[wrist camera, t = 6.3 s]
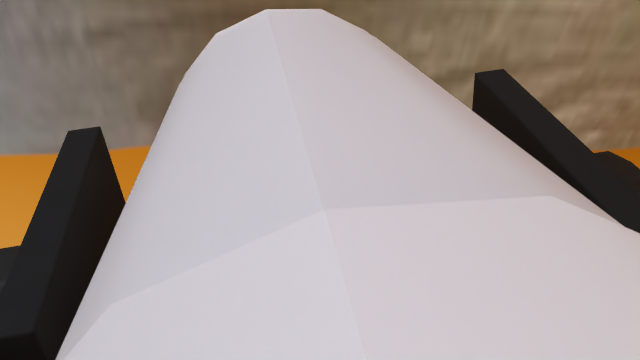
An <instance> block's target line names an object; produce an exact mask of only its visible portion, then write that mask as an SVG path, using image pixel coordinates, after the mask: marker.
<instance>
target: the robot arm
mask: <svg viewBox="0 0 640 360" xmlns="http://www.w3.org/2000/svg"><path fill="white" fill-rule="evenodd" d="M472 111H473V112H474V113H476V114H477V115H478V116H480V117H481V118H482V119H484V120H485V121H486V122H488V123H489V124H490V125H492V126H493V127H494V128H495V129H497V130H498V131H499V132H501V133H502V134H503V135H505V136H506V137H507V138H509V139H510V140H511V141H513V142H514V143H515V144H516V145H518V146H519V147H520V148H522V149H523V150H524V151H526V152H527V153H528V154H530V155H531V156H532V157H534V158H535V159H536V160H537V161H539V162H540V163H541V164H543V165H544V166H545V167H547V168H548V169H549V170H551V171H552V172H553V173H555V174H556V175H557V176H558V177H560V178H561V179H562V180H564V181H565V182H566V183H568V184H569V185H570V186H572V187H573V188H574V189H576V190H577V191H578V192H579V193H581V194H582V195H583V196H585V197H586V198H587V199H589V200H590V201H591V202H593V203H594V204H595V205H597V206H598V207H599V208H600V209H602V210H603V211H604V212H606V213H607V214H608V215H610V216H611V217H612V218H614V219H615V220H616V221H618V222H619V223H620V224H621V225H623V226H624V227H626V228H628V229H631V230H633V231H635V232H638V233H640V169H639V168H638V167H636V166H635V165H634V164H633V163H632V162H630V161H628V160H626V159H624V158H622V157H619V156H618V155H615V154H613V153H611V152H609V151H606V152H599V153H593V152H592V151H591V150H590V149H589V148H588V147H586V146H585V145H584V144H583V143H582V142H581V141H580V140H579V139H578V138H577V137H576V136H575V135H574V134H572V133H571V132H570V131H569V130H568V129H567V128H566V127H565V126H564V125H563V124H562V123H561V122H560V121H559V120H557V119H556V118H555V117H554V116H553V115H552V114H551V113H550V112H549V111H548V110H547V109H546V108H545V107H543V106H542V105H541V104H540V103H539V102H538V101H537V100H536V99H535V98H534V97H533V96H532V95H531V94H530V93H528V92H527V91H526V90H525V89H524V88H523V87H522V86H521V85H520V84H519V83H518V82H517V81H516V80H515V79H513V78H512V77H511V76H510V75H509V74H508V73H507V72H506V71H505V70H504V69H500V70H493V71H486V72H479V73H475V80H474V93H473V107H472ZM125 204H126V203H125V200H124V197H123V194H122V191H121V188H120V185H119V182H118V179H117V176H116V173H115V170H114V167H113V164H112V161H111V158H110V155H109V152H108V149H107V146H106V143H105V139H104V136H103V133H102V130H101V127H93V128H86V129H79V130H72V131H68V133H67V135H66V138H65V140H64V142H63V145H62V147H61V150H60V152H59V154H58V157H57V159H56V162H55V164H54V167H53V169H52V171H51V174H50V177H49V179H48V181H47V184H46V186H45V188H44V191H43V193H42V195H41V198H40V200H39V203H38V205H37V207H36V210H35V212H34V215H33V217H32V220H31V222H30V224H29V227H28V229H27V232H26V234H25V236H24V239H23V241H22V244H21V246H14V247H8V248H2V249H0V360H55V359H56V357H57V355H58V353H59V350H60V348H61V346H62V344H63V342H64V339H65V337H66V335H67V333H68V330H69V328H70V326H71V324H72V322H73V319H74V317H75V315H76V313H77V310H78V308H79V306H80V304H81V302H82V299H83V297H84V295H85V293H86V290H87V288H88V286H89V284H90V282H91V279H92V277H93V275H94V273H95V270H96V268H97V266H98V264H99V262H100V259H101V257H102V255H103V253H104V250H105V248H106V246H107V244H108V242H109V239H110V237H111V235H112V233H113V230H114V228H115V226H116V224H117V222H118V219H119V217H120V215H121V213H122V210H123V208H124V206H125Z"/></svg>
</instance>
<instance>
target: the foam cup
mask: <svg viewBox="0 0 640 360" xmlns="http://www.w3.org/2000/svg"><path fill="white" fill-rule="evenodd" d="M55 360H640V233H638V232H635V231H633V230H631V229H628V228H626V227H624V226H623V225H621V224H620V223H619V222H618V221H616V220H615V219H614V218H612V217H611V216H610V215H608V214H607V213H606V212H604V211H603V210H602V209H600V208H599V207H598V206H597V205H595V204H594V203H593V202H591V201H590V200H589V199H587V198H586V197H585V196H583V195H582V194H581V193H579V192H578V191H577V190H576V189H574V188H573V187H572V186H570V185H569V184H568V183H566V182H565V181H564V180H562V179H561V178H560V177H558V176H557V175H556V174H555V173H553V172H552V171H551V170H549V169H548V168H547V167H545V166H544V165H543V164H541V163H540V162H539V161H537V160H536V159H535V158H534V157H532V156H531V155H530V154H528V153H527V152H526V151H524V150H523V149H522V148H520V147H519V146H518V145H516V144H515V143H514V142H513V141H511V140H510V139H509V138H507V137H506V136H505V135H503V134H502V133H501V132H499V131H498V130H497V129H495V128H494V127H493V126H492V125H490V124H489V123H488V122H486V121H485V120H484V119H482V118H481V117H480V116H478V115H477V114H476V113H474V112H473V111H472V110H471V109H469V108H468V107H467V106H465V105H464V104H463V103H461V102H460V101H459V100H457V99H456V98H455V97H453V96H452V95H451V94H450V93H448V92H447V91H446V90H444V89H443V88H442V87H440V86H439V85H438V84H436V83H435V82H434V81H432V80H431V79H430V78H429V77H427V76H426V75H425V74H423V73H422V72H421V71H419V70H418V69H417V68H415V67H414V66H413V65H411V64H410V63H409V62H408V61H406V60H405V59H404V58H402V57H401V56H400V55H398V54H397V53H396V52H394V51H393V50H392V49H391V48H389V47H388V46H387V45H385V44H384V43H383V42H381V41H380V40H379V39H377V38H376V37H374V36H372V35H370V34H369V33H368V32H367V31H365V30H363V29H361V28H359V27H357V26H355V25H353V24H351V23H349V22H347V21H345V20H343V19H340V18H338V17H336V16H334V15H332V14H330V13H328V12H326V11H324V10H322V9H265V10H263V11H261V12H259V13H257V14H255V15H253V16H251V17H249V18H247V19H245V20H243V21H241V22H239V23H237V24H235V25H233V26H231V27H229V28H227V29H224V30H222V31H220V32H218V33H216V34H215V35H214V37H213V38H212V39H211V41H210V42H209V43H208V45H207V46H206V47H205V49H204V50H203V51H202V52H201V54H200V55H199V56H198V58H197V59H196V60H195V62H194V63H193V64H192V66H191V67H190V68H189V69H188V71H187V72H186V73H185V75H184V79H183V80H182V81H181V83H180V84H179V86H178V88H177V91H176V93H175V95H174V97H173V99H172V102H171V104H170V106H169V108H168V111H167V113H166V115H165V117H164V119H163V122H162V124H161V126H160V128H159V131H158V133H157V135H156V137H155V139H154V142H153V144H152V146H151V148H150V151H149V153H148V155H147V157H146V159H145V162H144V164H143V166H142V169H141V171H140V173H139V175H138V177H137V179H136V182H135V184H134V186H133V188H132V191H131V193H130V195H129V197H128V200H127V202H126V204H125V206H124V208H123V210H122V213H121V215H120V217H119V219H118V222H117V224H116V226H115V228H114V230H113V233H112V235H111V237H110V239H109V242H108V244H107V246H106V248H105V250H104V253H103V255H102V257H101V259H100V262H99V264H98V266H97V268H96V270H95V273H94V275H93V277H92V279H91V282H90V284H89V286H88V288H87V290H86V293H85V295H84V297H83V299H82V302H81V304H80V306H79V308H78V310H77V313H76V315H75V317H74V319H73V322H72V324H71V326H70V328H69V330H68V333H67V335H66V337H65V339H64V342H63V344H62V346H61V348H60V350H59V353H58V355H57V357H56V359H55Z"/></svg>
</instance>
